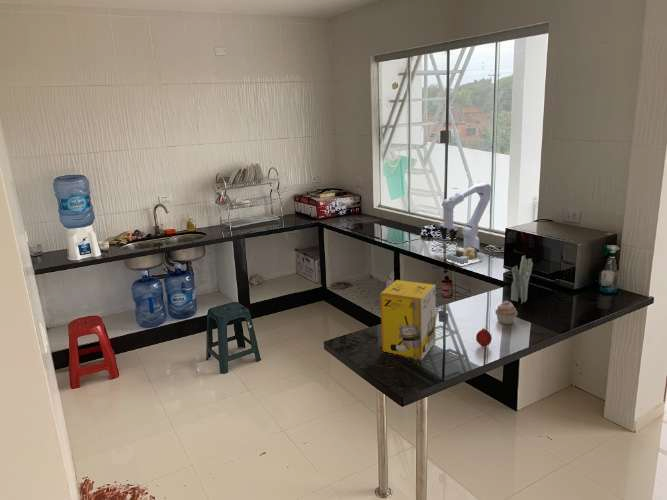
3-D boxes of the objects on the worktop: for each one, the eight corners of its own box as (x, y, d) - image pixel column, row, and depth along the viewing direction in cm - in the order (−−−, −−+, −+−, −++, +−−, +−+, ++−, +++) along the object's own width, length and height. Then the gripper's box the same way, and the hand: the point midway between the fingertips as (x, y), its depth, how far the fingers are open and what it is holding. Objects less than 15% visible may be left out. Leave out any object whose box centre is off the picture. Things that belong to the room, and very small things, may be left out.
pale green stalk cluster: (520, 311, 226) (522, 269, 220) (504, 308, 229) (506, 267, 224) (533, 291, 248) (535, 252, 242) (518, 289, 251) (520, 251, 246)
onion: (479, 341, 200) (480, 323, 197) (493, 345, 196) (494, 326, 194) (473, 347, 195) (473, 329, 193) (487, 351, 192) (488, 332, 190)
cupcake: (507, 328, 210) (508, 306, 207) (490, 321, 218) (490, 300, 215) (522, 322, 214) (523, 301, 211) (504, 315, 222) (505, 294, 219)
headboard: (465, 256, 309) (465, 249, 308) (481, 261, 297) (482, 254, 296) (445, 261, 302) (445, 254, 301) (461, 266, 290) (461, 259, 289)
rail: (472, 256, 305) (472, 246, 304) (476, 257, 302) (477, 248, 300) (455, 260, 299) (456, 250, 298) (460, 261, 296) (460, 252, 294)
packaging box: (422, 360, 188) (421, 299, 181) (382, 352, 196) (380, 293, 189) (435, 342, 202) (435, 284, 195) (398, 335, 209) (396, 279, 202)
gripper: (435, 217, 314) (435, 238, 317) (451, 221, 301) (451, 243, 305) (444, 216, 317) (444, 236, 321) (460, 219, 304) (460, 241, 308)
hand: (448, 239), depth 313 cm, fingers open, 7 cm apart
